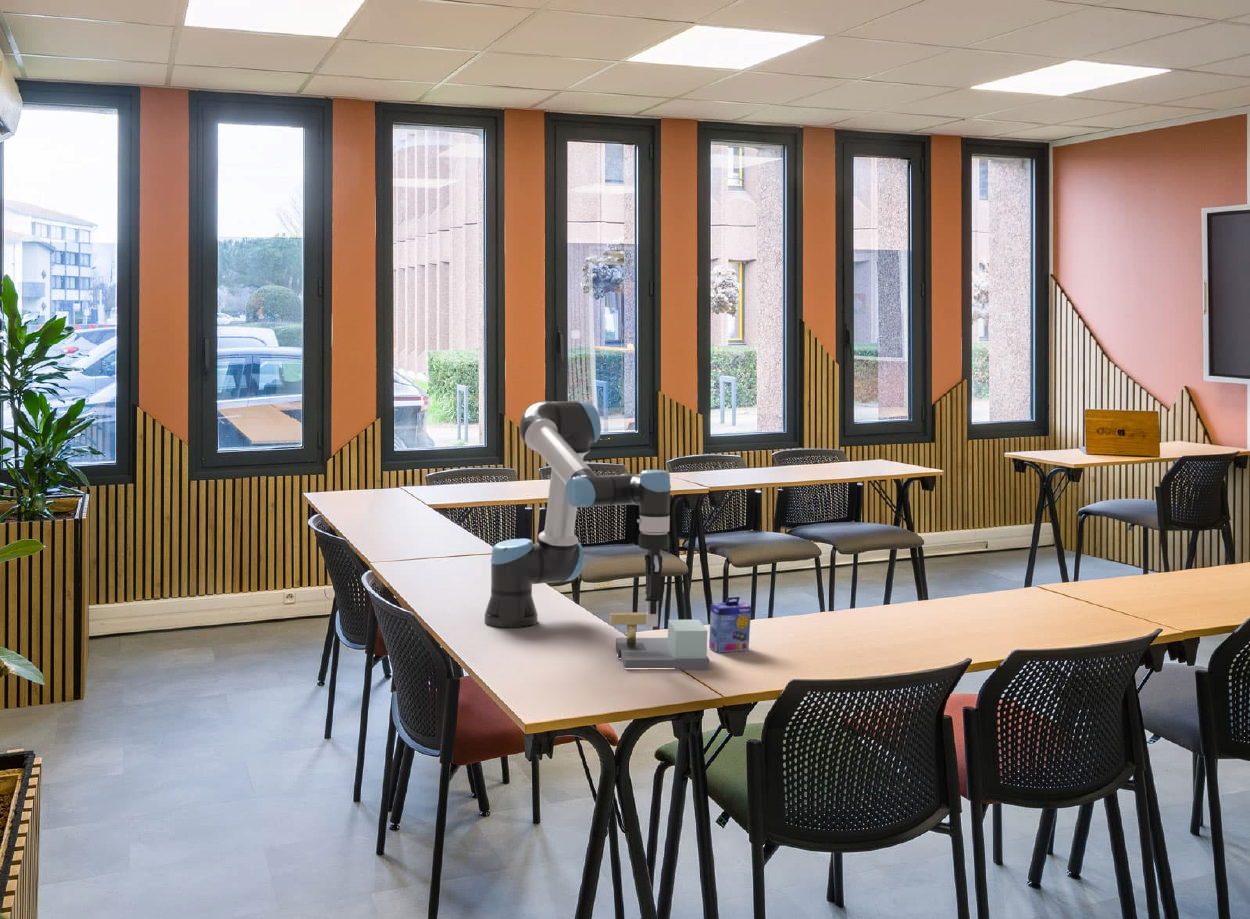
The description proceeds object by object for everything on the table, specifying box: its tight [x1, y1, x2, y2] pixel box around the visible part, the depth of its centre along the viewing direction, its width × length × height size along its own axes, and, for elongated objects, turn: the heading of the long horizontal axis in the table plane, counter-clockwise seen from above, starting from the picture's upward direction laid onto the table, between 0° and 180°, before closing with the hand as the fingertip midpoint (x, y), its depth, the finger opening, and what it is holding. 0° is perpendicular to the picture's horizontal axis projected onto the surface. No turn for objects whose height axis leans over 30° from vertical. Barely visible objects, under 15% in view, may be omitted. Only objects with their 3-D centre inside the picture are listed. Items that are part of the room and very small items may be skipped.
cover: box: [667, 619, 709, 659], centre depth 295 cm, size 12×8×7 cm, turn 7°
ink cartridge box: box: [708, 596, 752, 654], centre depth 309 cm, size 10×6×14 cm, turn 113°
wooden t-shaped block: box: [609, 612, 647, 646], centre depth 299 cm, size 3×11×8 cm, turn 97°
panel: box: [615, 637, 710, 671], centre depth 299 cm, size 22×22×3 cm
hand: (652, 625), depth 292 cm, fingers closed
